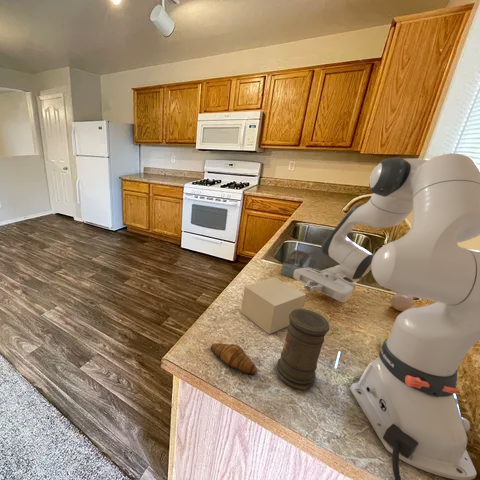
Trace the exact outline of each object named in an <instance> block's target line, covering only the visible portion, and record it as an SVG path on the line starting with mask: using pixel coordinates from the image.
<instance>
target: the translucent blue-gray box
mask: <svg viewBox="0 0 480 480" xmlns="http://www.w3.org/2000/svg"><path fill="white" fill-rule="evenodd" d="M311 256H312V253H309V252H305V251H300V250H296V249H295V250H294V251H293V252H292V253H291V254H290V255H289V256H288V257H287V258H286V259H285V260H284V262H283V263H282V266H281V275H284V276H287V277H290V278H293V279H295V278H294V277H293V275H294V271H295V270H296V269H300V268H309V266H310V264H311V263H310V262H311V258H312V257H311Z"/></svg>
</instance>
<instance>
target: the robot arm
mask: <svg viewBox="0 0 480 480" xmlns="http://www.w3.org/2000/svg"><path fill="white" fill-rule="evenodd" d="M368 187H369V190H370V191H371V193H372V195H371V197H370V198H369V200H367V201H366V202H365V203H359V204H357V205H355V206H354V207H352V208H351V209H350V210H349V211H348V212H347V213H346V215H345V216H344V217H343V218H342V219H341V221H340V222H339V223H338V224H337V225H336V226H335V228H334V229H333V230H332V231H331V233H330V234H329V235H328V236H327V237H326V238H324V240H323V241H322V242H321V251H322V254H323V255H325V256H327V257H328V258H330V259H332V260H334V261H335V262H336V263H337V264H338V265H335V266H331V267H328V268H325V269H322V270H320V271H319V272H318V271H316V270H314V269H312V268H310V267H307V268H300V269H296V270H295V271H294V275H293V277H294V278H293V277H292V278H293V279H295V280H297V281H298V282H300V283H303V284H304V286H303V288H304V289H305V290H307V291H309V292H311V293H312V292H317V293H318V292H319V293H322V294H323V295H326V296H328V297H329V298H332V299H334V300H336V301H337V302H339V303H345V302H348V301H349V300H350V299H351V298H352V297H353V295H354V292H355V290H356V285H357V282H359V281H361V279H363V278H365V277H367V275H369V274H370V273H371V275H372V277H373V278H374V280H375V282H376V283H377V284H378V285H379V286H380V287H382V288H385V289H387V290H389V291H393V292H394V293H395V292H396V293H401V294H404V295H406V296H411V297H412V298H416V299H421V300H424V301H425V300H426V301H430V302H433V303H431V304H428V305H424V306H418V307H412V308H411V309H408V310H405V311H401V312H400V313H399V314H398V315H397V316H396V318H395V320H394V323H393V324H392V328H391V330H390V333H389V334H390V335H389V337H388V338H387V339H385V341H384V343H383V344H382V345H380V349H379V351H378V356H377V357H376V358H375V359H373V361H371V362H369V363H368V364H367V366H366V368H365V369H364V371H363V373H362V374H361V376H360V378H359V379H358V381H357V382H353V383H352V384H351V385H350V386H349V390H350V392H351V394H352V396H353V397H354V399H355V400H356V402H357V403H358V406H359V407H360V409H361V410H362V412H363V414H364V415H365V417H366V418H367V420H368V422H369V424H370V425H371V426H372V427H371V428H373V431H374V432H375V434H376V435H377V436H378V438H379V440H380V442H381V443H382V445H383V446H384V448H385V449H386V451H387V452H389V453H390V454H391V465H392V474H393V478H394V480H402V478H401V477H402V476H401V473H400V464H399V463H400V462H399V461H400V460H401V461H402V462H404V463H406V464H408V465H410V466H412V467H414V468H417V469H419V470H422V471H424V472H427V473H429V474H433V475H436V476H438V477H443V478H446V479H450V480H474V479H476V477H477V474H478V473H477V470H476V467H475V465H474V464H473V461H472V459H471V456H470V455H469V453H468V451H467V445H468V435H467V432H469V431H470V430H471V423H470V421H469V420H468V419H467V418H465V417H463V416H461V412H460V407H459V399H458V398H457V395H459V392H461V389H459V388H457V383H458V369H459V366H460V364H461V363H462V361H463V360H464V358H465V357H466V356H467V354H468V353H469V351H470V350H471V348H472V347H473V346H474V345H475V344H476V343H477V342H479V341H480V250H476V249H470V248H466V247H461V246H460V245H459V244H458V243H462V242H467V241H469V240H472V239H474V238H477V237H479V236H480V168H479V165H477V163H476V162H475V160H474V159H473V158H472V157H471V156H469V155H466V154H464V153H458V152H447V153H442V154H438V155H435V156H432V157H430V158H429V159H428V158H414V157H413V158H412V157H411V158H409V157H408V158H402V157H401V156H397V157H386V158H384V159H382V160H380V161H379V162H377V163H376V165H375V166H374V168H372V170H371V173H370V174H369V180H368ZM411 212H412V221H411V226H410V228H409V230H408V231H407V232H406V234H404V235H403V236H402V237H400V238H398V239H395V240H393V241H390V242H387V243H386V244H384V245H382V246H381V247H380V248H379V249H378V250H377V251H375V253H374V254H373V253H372V252H370V251H369V250H367V249H365V248H364V247H363V246H360V245H359V244H357V243H356V242H354V241H352V240H351V239H350V238H349V237H348V234H349V233H350V232H352V230H353V229H354V227H355V226H356V225H362V226H367V227H371V228H377V229H387V228H388V229H389V228H392V227H396V226H398V225H400V224H401V223H403V222H404V221H405V220H406V219H407V218H408V216H409V215H410V214H411ZM340 355H341V351H338V353H337V356H336V361H335V365H334V369H337V367H338V365H339V364H338V363H339V359H340Z"/></svg>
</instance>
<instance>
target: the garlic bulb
mask: <svg viewBox="0 0 480 480" xmlns="http://www.w3.org/2000/svg"><path fill="white" fill-rule="evenodd" d="M390 305H391V306H392V308H393V309H394V310H396V311H398V312H403V311H405V310H408V309H411V308H414V305H415V303H414V297H411V296H406V295H404V294H401V293H398V292H396V293H395V294H394V295H392V296H391V298H390Z"/></svg>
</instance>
